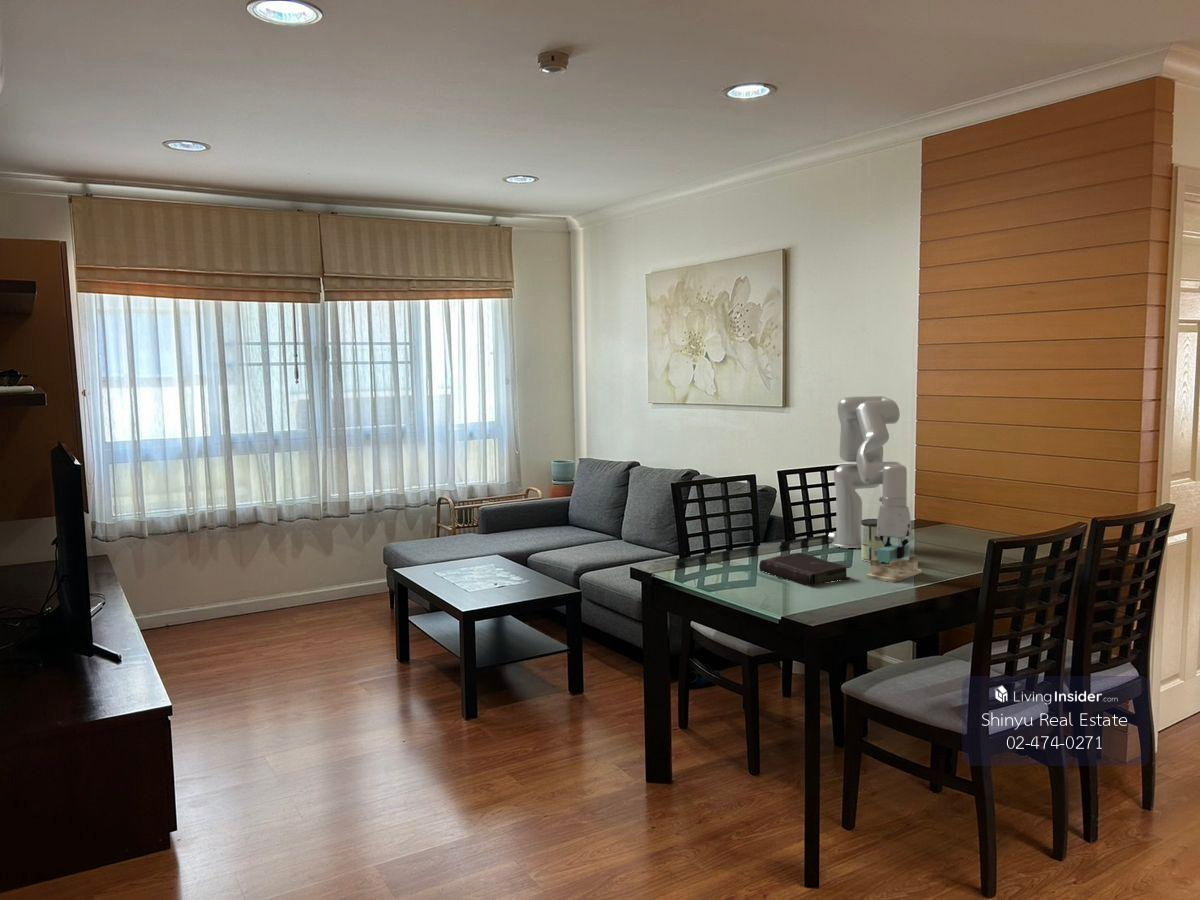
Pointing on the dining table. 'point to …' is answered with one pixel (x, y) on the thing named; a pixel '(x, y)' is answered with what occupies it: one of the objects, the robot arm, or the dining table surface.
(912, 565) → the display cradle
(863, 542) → the coffee can
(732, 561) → the dining table surface
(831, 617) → the dining table surface
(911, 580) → the dining table surface
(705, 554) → the dining table surface
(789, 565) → the diary
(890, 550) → the teal rectangular block
